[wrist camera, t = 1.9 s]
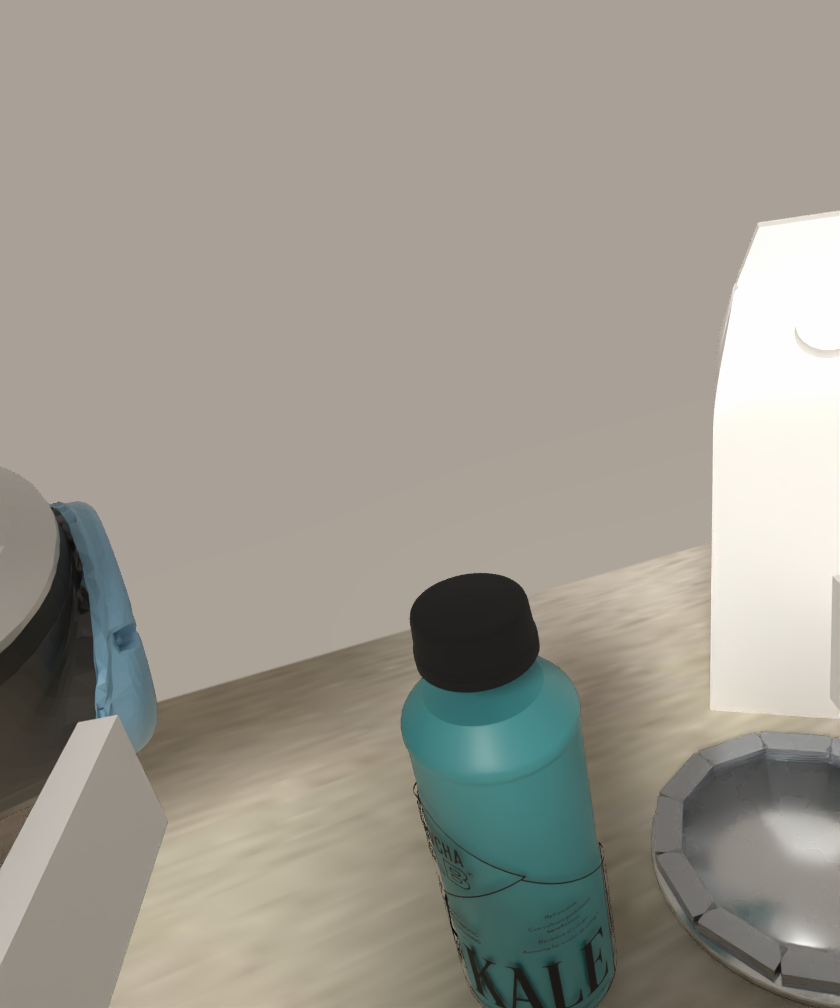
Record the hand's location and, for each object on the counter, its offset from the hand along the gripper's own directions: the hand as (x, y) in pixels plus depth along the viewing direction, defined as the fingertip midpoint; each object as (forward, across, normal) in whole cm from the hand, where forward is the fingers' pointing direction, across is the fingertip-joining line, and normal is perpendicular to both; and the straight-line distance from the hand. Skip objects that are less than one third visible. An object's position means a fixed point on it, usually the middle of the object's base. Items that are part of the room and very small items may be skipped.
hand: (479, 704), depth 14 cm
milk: (+28, +20, -24) cm, 42 cm away
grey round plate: (+14, +13, -24) cm, 31 cm away
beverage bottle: (+10, 0, -24) cm, 26 cm away
